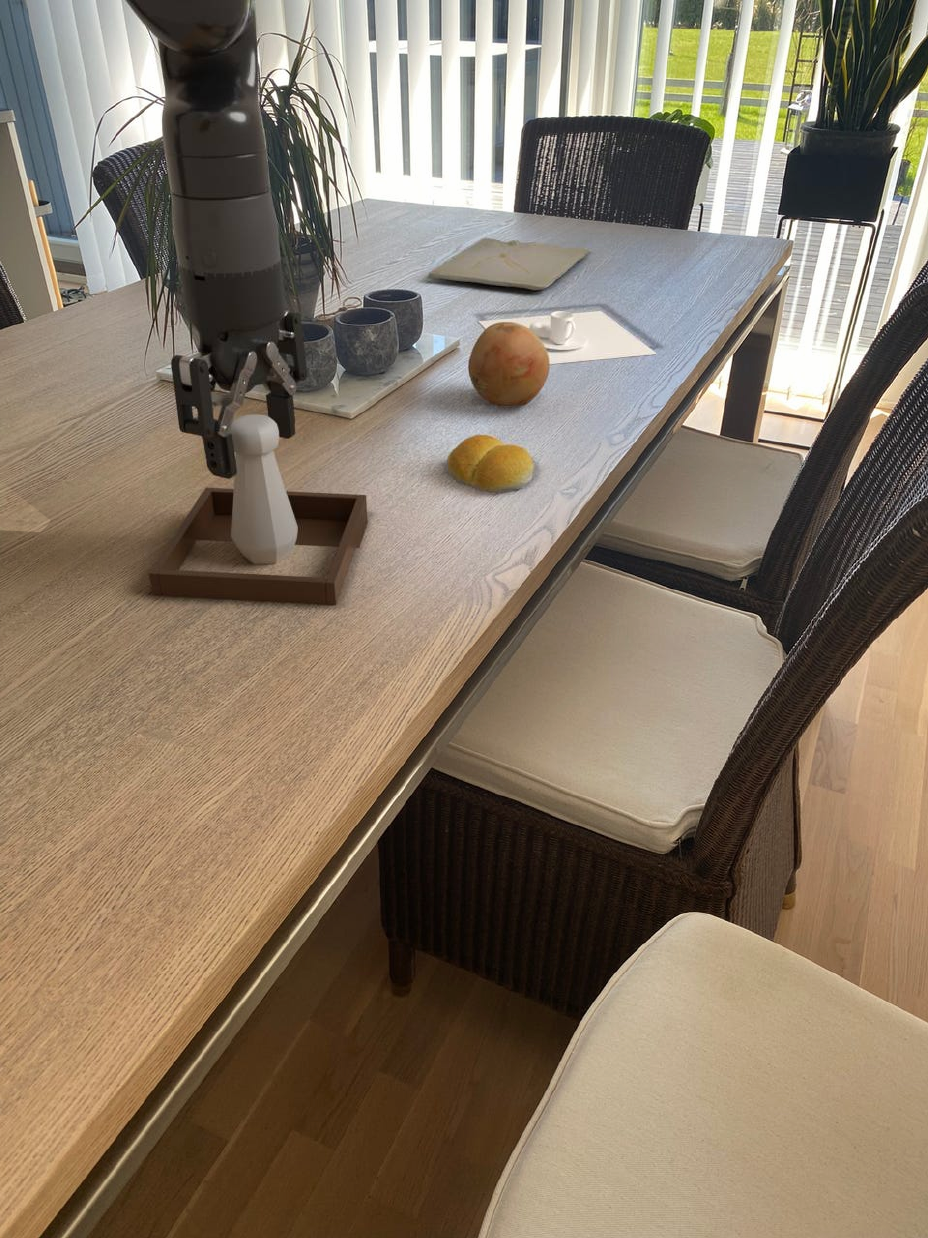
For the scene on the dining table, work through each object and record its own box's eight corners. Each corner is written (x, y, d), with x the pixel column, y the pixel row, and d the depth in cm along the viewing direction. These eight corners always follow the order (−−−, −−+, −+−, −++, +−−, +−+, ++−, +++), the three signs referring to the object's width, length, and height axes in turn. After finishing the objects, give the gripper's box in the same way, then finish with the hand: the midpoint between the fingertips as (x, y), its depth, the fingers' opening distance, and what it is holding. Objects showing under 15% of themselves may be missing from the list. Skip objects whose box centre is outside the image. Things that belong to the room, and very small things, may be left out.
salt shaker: (225, 568, 84) (203, 431, 76) (247, 536, 88) (228, 404, 81) (289, 574, 83) (273, 436, 75) (308, 541, 88) (295, 408, 80)
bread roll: (505, 503, 95) (506, 467, 93) (435, 478, 100) (435, 443, 97) (550, 474, 101) (552, 439, 98) (482, 451, 105) (483, 418, 103)
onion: (564, 404, 117) (570, 323, 111) (508, 427, 111) (511, 342, 105) (507, 383, 122) (509, 304, 116) (451, 403, 116) (451, 322, 111)
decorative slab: (479, 246, 180) (480, 235, 179) (589, 256, 174) (590, 245, 173) (427, 283, 159) (427, 271, 158) (549, 297, 153) (550, 285, 152)
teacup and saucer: (521, 334, 138) (523, 306, 135) (573, 330, 140) (575, 302, 137) (542, 355, 131) (544, 325, 128) (596, 350, 133) (598, 320, 130)
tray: (154, 604, 80) (148, 573, 78) (210, 515, 93) (205, 487, 91) (337, 614, 79) (334, 583, 77) (367, 523, 92) (366, 494, 90)
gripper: (244, 229, 77) (265, 417, 86) (124, 272, 67) (163, 480, 76) (323, 240, 75) (336, 432, 84) (211, 286, 64) (241, 500, 73)
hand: (254, 455), depth 80 cm, fingers open, 8 cm apart
